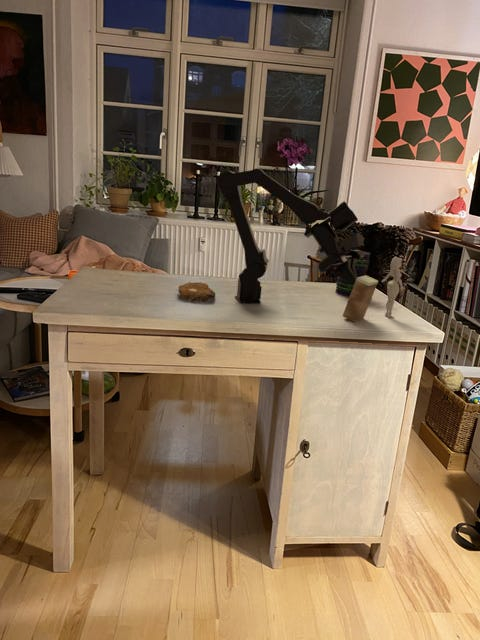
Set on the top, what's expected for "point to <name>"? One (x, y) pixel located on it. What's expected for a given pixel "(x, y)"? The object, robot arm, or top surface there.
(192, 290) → the decorative rock
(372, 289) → the walnut block
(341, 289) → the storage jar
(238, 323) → the top surface
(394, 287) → the human figurine
